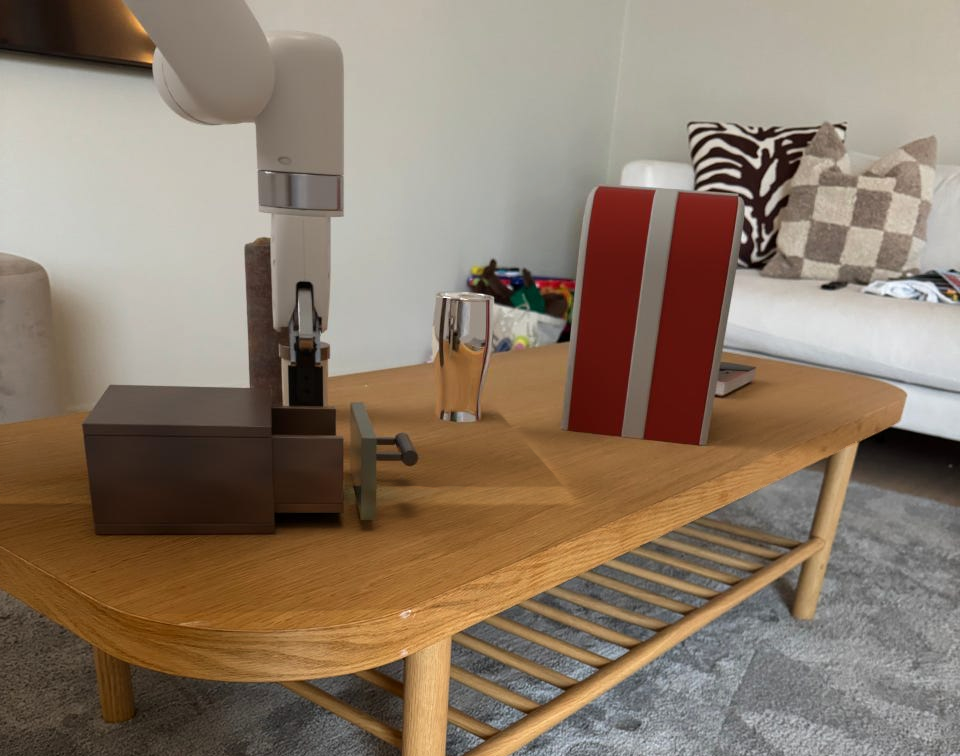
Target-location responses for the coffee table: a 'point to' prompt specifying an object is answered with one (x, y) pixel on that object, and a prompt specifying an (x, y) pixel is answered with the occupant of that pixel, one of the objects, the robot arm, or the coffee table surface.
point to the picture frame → (733, 377)
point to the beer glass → (461, 353)
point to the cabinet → (181, 460)
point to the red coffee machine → (651, 311)
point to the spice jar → (285, 361)
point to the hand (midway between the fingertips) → (305, 400)
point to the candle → (262, 321)
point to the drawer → (327, 459)
